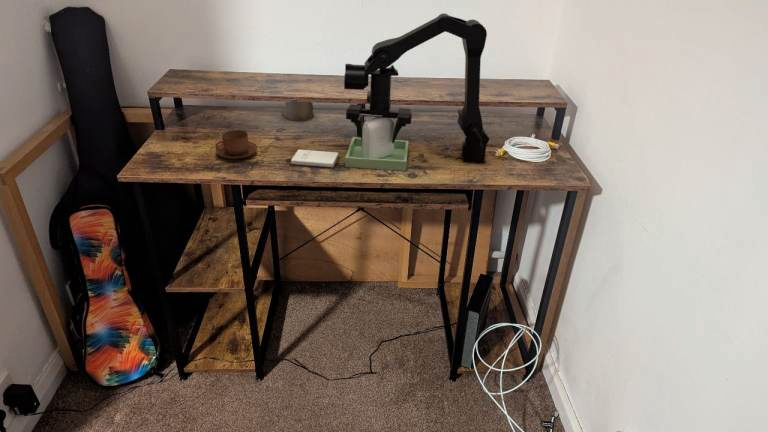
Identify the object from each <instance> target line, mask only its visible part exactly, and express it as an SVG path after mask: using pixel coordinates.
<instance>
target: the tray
mask: <svg viewBox="0 0 768 432" xmlns="http://www.w3.org/2000/svg"><path fill="white" fill-rule="evenodd" d="M408 152H409V140H402V139H401V140H400V139H395V141H394V153H393V154H392V155H390V156H386V157H383V158H379V159H374V158H363V157H362V139H361V137H354V136H353V137H351V141H350V143H349V146H348V148H347V151H346V154H345V157H344V167H345V168H359V169H372V170H374V169H375V170H386V171H387V170H388V171H403V172H404V171H405V172H406V171H407V163H408Z"/></svg>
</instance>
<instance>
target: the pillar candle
mask: <svg viewBox="0 0 768 432" xmlns="http://www.w3.org/2000/svg"><path fill="white" fill-rule="evenodd" d="M284 104H285V117H286V118H287V119H288V120H290V121H292V122H293V121H294V122H303V121H309V120H311V119H313V118H314V105H313V104H314V103H311V102H285V101H284Z"/></svg>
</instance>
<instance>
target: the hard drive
mask: <svg viewBox="0 0 768 432" xmlns="http://www.w3.org/2000/svg"><path fill="white" fill-rule="evenodd" d="M339 157H340V152H336V151H325V150H324V151H323V150H311V149H297V151H296V152H295V154H293V156H292V158H291V160H290V163H291V165H298V166H308V167H321V168H332V169H333V168H334V167H335V165H336V163H337V162H338V160H339Z"/></svg>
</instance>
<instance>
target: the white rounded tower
mask: <svg viewBox="0 0 768 432" xmlns="http://www.w3.org/2000/svg"><path fill="white" fill-rule="evenodd" d="M395 125H396V122H395V120H394V118H384V117H371V118H370V119H367V121H364V122H363V126H362V157H363V158H374V159H379V158H383V157H386V156H390V155H392V154H393V153H394V143H392V139H393V134H394V129H395Z"/></svg>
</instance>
